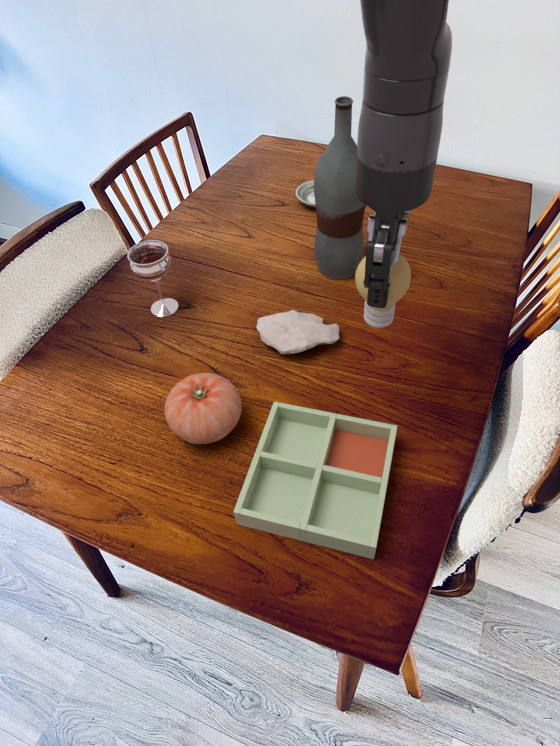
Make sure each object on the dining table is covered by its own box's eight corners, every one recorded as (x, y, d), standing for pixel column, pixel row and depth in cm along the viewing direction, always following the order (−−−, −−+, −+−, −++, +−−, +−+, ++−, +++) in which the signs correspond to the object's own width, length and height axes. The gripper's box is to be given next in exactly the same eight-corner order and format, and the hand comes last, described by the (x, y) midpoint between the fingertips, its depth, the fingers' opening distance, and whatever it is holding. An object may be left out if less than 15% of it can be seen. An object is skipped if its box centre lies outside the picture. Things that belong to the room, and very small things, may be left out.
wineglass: (189, 310, 93) (175, 255, 83) (154, 325, 90) (135, 270, 81) (174, 289, 96) (158, 234, 87) (140, 304, 94) (120, 249, 85)
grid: (394, 440, 73) (397, 425, 70) (373, 559, 62) (376, 547, 59) (275, 415, 76) (273, 401, 74) (236, 524, 66) (233, 511, 63)
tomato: (203, 384, 81) (194, 349, 75) (259, 414, 77) (254, 380, 71) (155, 432, 76) (141, 399, 70) (212, 468, 71) (202, 436, 65)
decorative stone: (349, 328, 88) (269, 314, 93) (349, 309, 85) (267, 296, 91) (327, 367, 80) (241, 349, 86) (326, 347, 78) (238, 330, 83)
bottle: (307, 257, 100) (303, 93, 78) (351, 246, 102) (359, 82, 79) (324, 286, 95) (326, 118, 72) (371, 274, 96) (386, 106, 73)
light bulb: (363, 298, 69) (368, 234, 61) (410, 311, 67) (421, 246, 59) (345, 329, 65) (347, 265, 58) (394, 344, 63) (403, 279, 55)
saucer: (290, 211, 111) (290, 200, 109) (302, 187, 117) (302, 177, 115) (334, 216, 109) (334, 205, 107) (344, 192, 115) (344, 181, 113)
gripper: (428, 192, 44) (405, 333, 56) (445, 117, 52) (422, 253, 65) (341, 184, 45) (337, 322, 58) (371, 112, 54) (362, 246, 67)
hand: (382, 285), depth 62 cm, fingers closed on light bulb, 6 cm apart
